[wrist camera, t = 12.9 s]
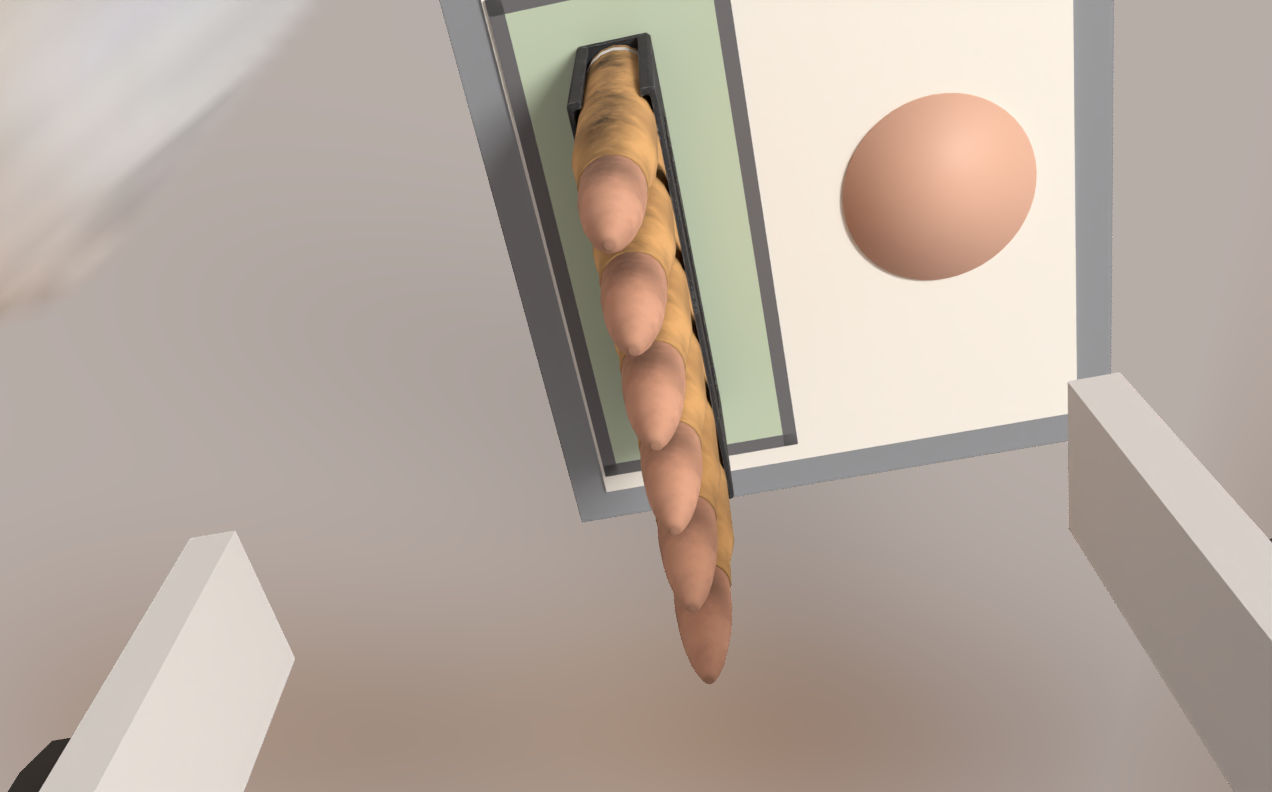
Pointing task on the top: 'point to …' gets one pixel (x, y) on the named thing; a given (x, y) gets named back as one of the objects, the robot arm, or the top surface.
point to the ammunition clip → (657, 329)
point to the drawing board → (824, 221)
